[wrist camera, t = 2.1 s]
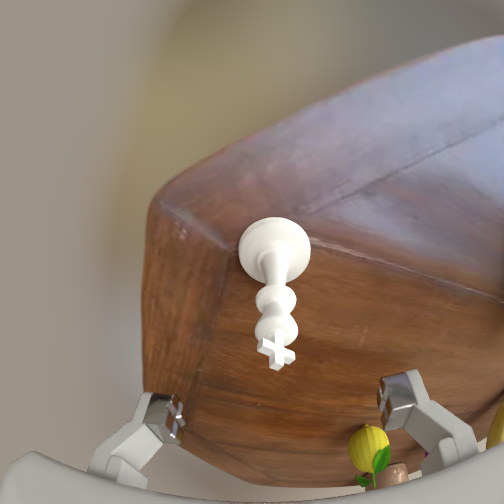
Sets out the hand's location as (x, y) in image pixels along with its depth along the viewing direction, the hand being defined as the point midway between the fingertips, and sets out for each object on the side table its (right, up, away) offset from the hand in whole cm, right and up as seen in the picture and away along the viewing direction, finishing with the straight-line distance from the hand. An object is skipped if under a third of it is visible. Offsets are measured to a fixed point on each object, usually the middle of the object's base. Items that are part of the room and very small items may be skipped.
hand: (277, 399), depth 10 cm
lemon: (+14, -18, +23) cm, 32 cm away
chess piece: (+1, +6, +10) cm, 12 cm away
